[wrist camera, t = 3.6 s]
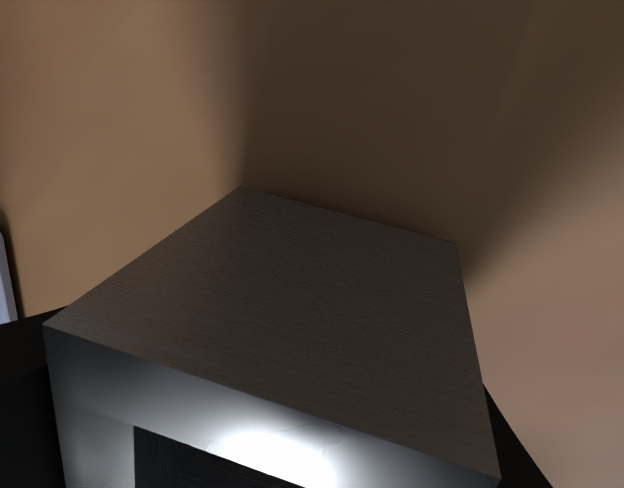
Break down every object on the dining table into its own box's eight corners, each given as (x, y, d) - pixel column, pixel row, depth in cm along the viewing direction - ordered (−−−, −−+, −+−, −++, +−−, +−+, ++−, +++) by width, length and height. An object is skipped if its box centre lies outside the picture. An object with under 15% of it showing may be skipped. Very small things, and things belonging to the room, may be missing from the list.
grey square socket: (222, 349, 13) (77, 561, 7) (239, 186, 10) (41, 324, 5) (393, 405, 12) (370, 686, 7) (455, 243, 9) (501, 479, 4)
